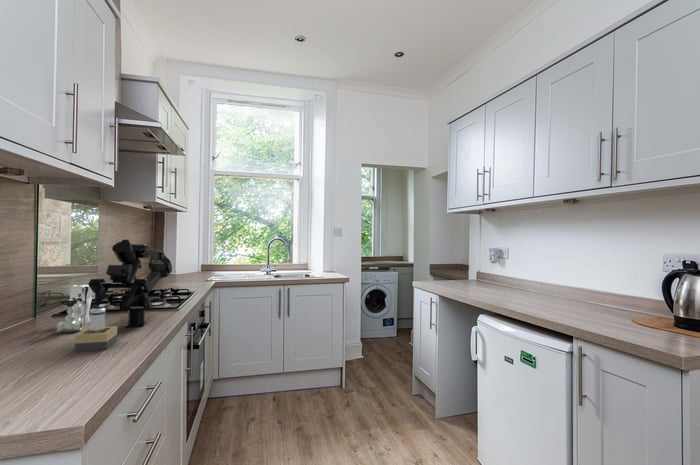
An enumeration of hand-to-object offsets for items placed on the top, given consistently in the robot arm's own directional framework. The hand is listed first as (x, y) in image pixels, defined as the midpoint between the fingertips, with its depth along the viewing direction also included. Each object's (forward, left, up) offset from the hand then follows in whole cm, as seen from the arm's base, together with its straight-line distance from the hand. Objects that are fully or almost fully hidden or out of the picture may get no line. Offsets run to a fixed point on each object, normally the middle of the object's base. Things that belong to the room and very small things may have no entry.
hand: (110, 306), depth 115 cm
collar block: (+7, -1, -11) cm, 14 cm away
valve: (-13, -17, -12) cm, 25 cm away
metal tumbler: (+7, -1, -11) cm, 14 cm away
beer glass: (-26, -19, -12) cm, 35 cm away
